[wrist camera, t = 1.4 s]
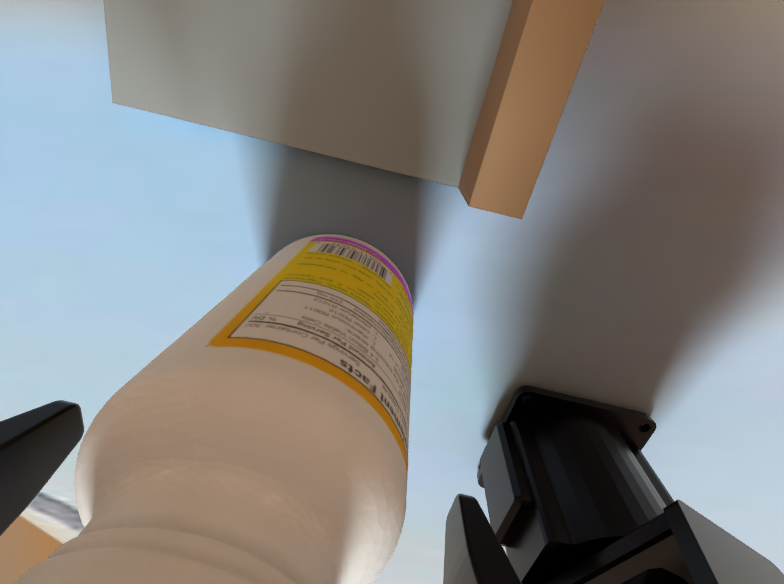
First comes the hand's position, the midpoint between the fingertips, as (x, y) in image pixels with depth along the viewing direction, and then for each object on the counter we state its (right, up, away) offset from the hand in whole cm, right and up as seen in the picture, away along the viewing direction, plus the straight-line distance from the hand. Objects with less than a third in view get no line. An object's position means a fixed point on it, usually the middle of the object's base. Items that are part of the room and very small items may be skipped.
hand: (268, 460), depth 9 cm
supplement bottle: (+1, +3, +8) cm, 9 cm away
